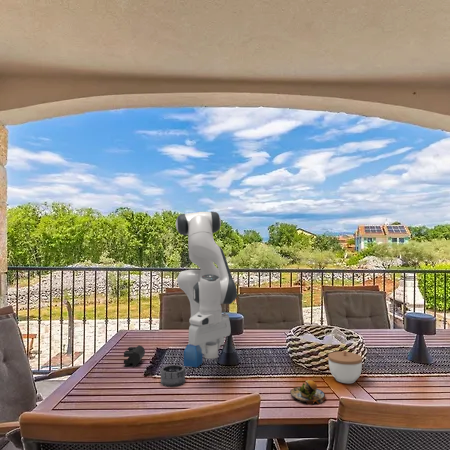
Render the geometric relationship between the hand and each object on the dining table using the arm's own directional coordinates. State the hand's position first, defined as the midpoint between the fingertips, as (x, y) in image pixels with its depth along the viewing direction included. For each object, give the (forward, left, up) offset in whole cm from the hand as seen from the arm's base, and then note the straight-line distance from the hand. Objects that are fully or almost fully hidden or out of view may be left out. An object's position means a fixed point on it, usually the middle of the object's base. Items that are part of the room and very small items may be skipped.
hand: (210, 351), depth 147 cm
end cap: (+11, -38, -11) cm, 41 cm away
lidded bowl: (-34, +39, -11) cm, 53 cm away
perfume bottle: (-6, -18, -11) cm, 22 cm away
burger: (-10, +37, -11) cm, 40 cm away
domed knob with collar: (+13, -8, -10) cm, 18 cm away
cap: (0, 0, -2) cm, 2 cm away
